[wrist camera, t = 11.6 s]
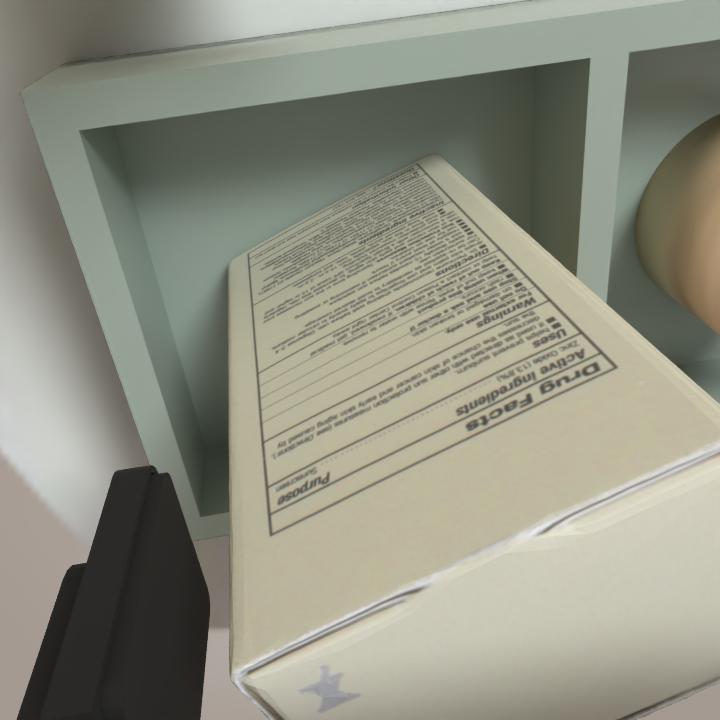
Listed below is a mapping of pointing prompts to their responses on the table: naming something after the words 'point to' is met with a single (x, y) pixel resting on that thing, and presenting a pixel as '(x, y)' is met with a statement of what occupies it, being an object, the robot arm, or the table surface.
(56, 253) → the table surface
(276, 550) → the skincare box
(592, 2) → the slot holder
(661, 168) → the cork plug
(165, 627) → the robot arm
